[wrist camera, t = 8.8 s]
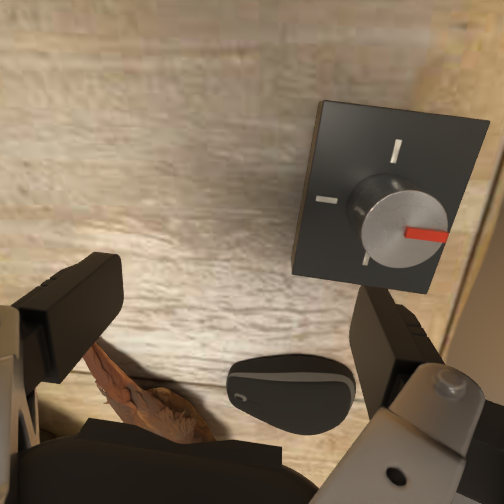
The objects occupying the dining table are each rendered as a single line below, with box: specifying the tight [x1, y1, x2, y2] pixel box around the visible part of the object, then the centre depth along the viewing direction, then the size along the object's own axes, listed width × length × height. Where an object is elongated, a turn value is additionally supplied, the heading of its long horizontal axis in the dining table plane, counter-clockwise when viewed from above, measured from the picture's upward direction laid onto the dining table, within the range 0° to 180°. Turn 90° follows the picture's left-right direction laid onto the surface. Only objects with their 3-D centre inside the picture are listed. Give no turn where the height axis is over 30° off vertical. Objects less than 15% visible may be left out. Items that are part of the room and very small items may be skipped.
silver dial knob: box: [347, 174, 449, 268], centre depth 20 cm, size 4×4×5 cm
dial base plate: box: [291, 100, 490, 294], centre depth 24 cm, size 12×10×3 cm
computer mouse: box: [226, 356, 356, 435], centre depth 31 cm, size 7×12×4 cm, turn 93°
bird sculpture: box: [83, 342, 217, 444], centre depth 34 cm, size 7×25×5 cm, turn 47°
